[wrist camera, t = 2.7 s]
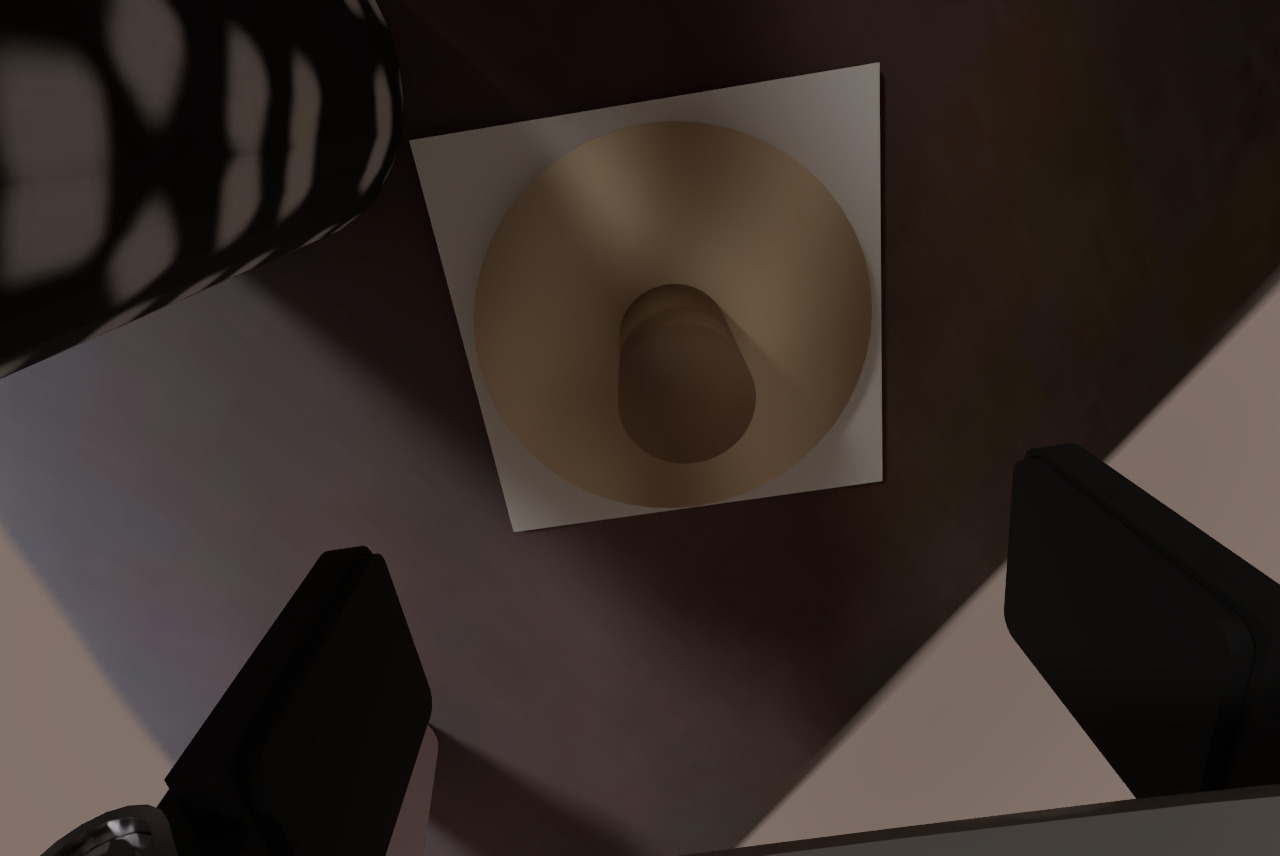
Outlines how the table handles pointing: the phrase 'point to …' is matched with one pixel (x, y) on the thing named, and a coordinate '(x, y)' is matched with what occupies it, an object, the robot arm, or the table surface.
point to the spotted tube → (176, 150)
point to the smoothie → (416, 802)
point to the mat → (771, 110)
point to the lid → (672, 314)
